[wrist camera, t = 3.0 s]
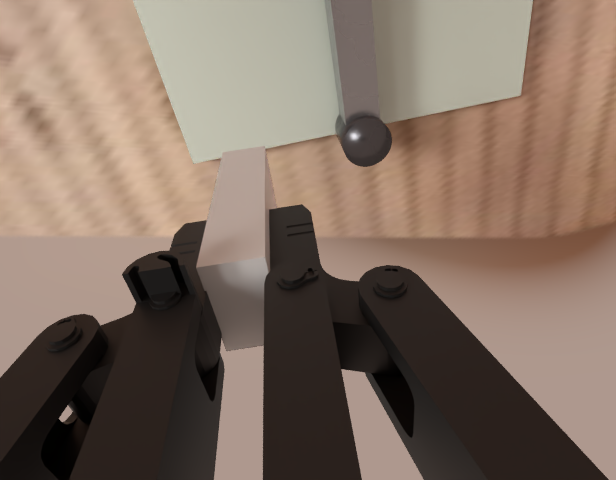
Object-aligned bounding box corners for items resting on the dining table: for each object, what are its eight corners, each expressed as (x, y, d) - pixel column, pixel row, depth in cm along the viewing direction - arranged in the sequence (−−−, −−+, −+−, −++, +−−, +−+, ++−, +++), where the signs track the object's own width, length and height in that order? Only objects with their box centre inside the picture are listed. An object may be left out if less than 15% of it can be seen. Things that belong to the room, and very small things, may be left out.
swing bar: (301, -106, 19) (310, -121, 16) (358, -118, 19) (379, -136, 16) (337, 148, 27) (348, 174, 23) (378, 140, 27) (395, 164, 23)
